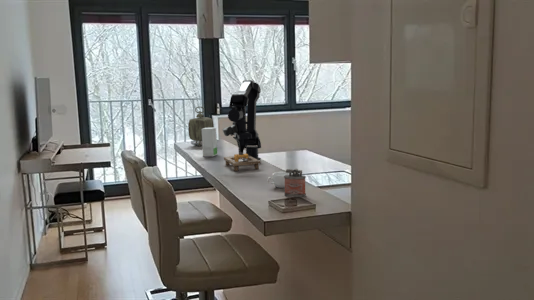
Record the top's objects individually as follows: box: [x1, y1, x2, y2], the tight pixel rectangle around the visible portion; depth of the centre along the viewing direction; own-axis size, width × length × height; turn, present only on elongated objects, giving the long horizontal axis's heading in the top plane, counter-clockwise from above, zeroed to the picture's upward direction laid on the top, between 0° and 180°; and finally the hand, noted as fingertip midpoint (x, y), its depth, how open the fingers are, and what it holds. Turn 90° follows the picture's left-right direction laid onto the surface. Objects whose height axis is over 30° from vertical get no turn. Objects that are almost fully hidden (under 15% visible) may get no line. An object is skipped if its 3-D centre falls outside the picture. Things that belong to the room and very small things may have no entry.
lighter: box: [284, 168, 307, 198], centre depth 186 cm, size 8×3×10 cm, turn 71°
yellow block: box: [233, 147, 248, 162], centre depth 246 cm, size 4×6×8 cm, turn 108°
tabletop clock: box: [187, 106, 215, 146], centre depth 323 cm, size 14×9×25 cm, turn 66°
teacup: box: [267, 171, 293, 189], centre depth 201 cm, size 10×8×5 cm
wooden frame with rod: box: [223, 155, 261, 172], centre depth 247 cm, size 20×13×4 cm, turn 18°
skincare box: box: [201, 126, 218, 158], centre depth 283 cm, size 8×7×16 cm
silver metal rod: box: [239, 157, 248, 162], centre depth 246 cm, size 16×2×1 cm, turn 18°
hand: (241, 151), depth 246 cm, fingers closed on yellow block, 2 cm apart
